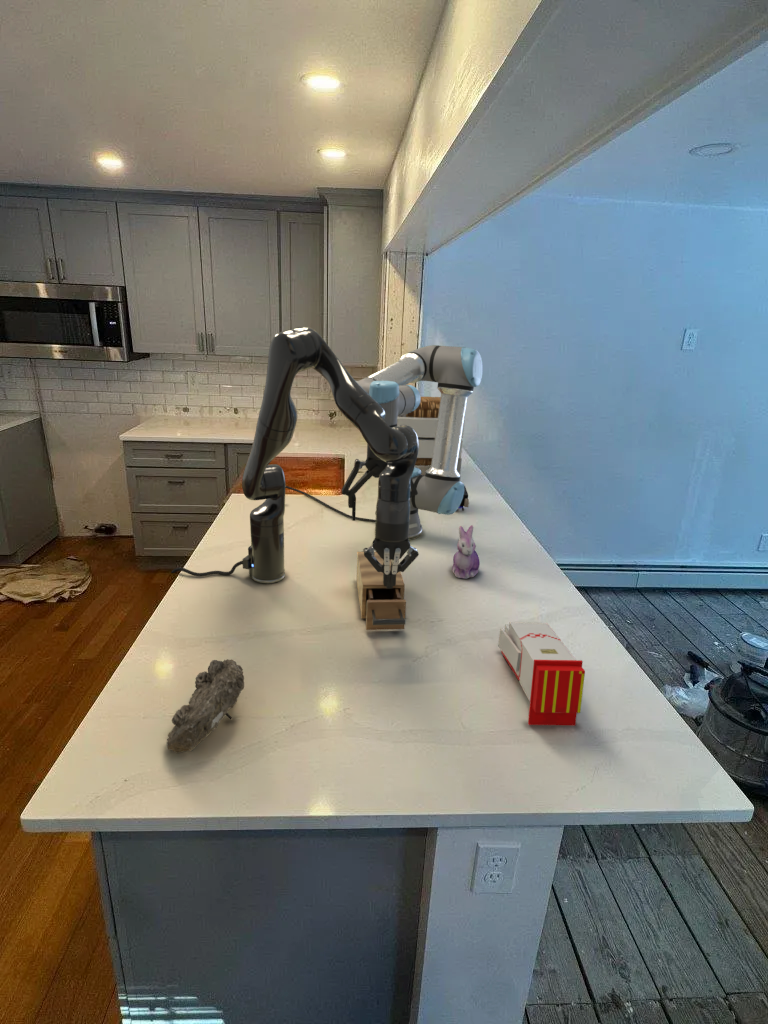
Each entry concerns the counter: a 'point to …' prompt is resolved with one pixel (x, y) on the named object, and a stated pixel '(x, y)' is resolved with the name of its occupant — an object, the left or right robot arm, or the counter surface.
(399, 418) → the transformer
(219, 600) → the counter surface
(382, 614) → the drawer
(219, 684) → the fossil
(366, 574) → the cabinet
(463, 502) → the figurine character
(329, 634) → the counter surface
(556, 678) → the toy
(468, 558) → the figurine
